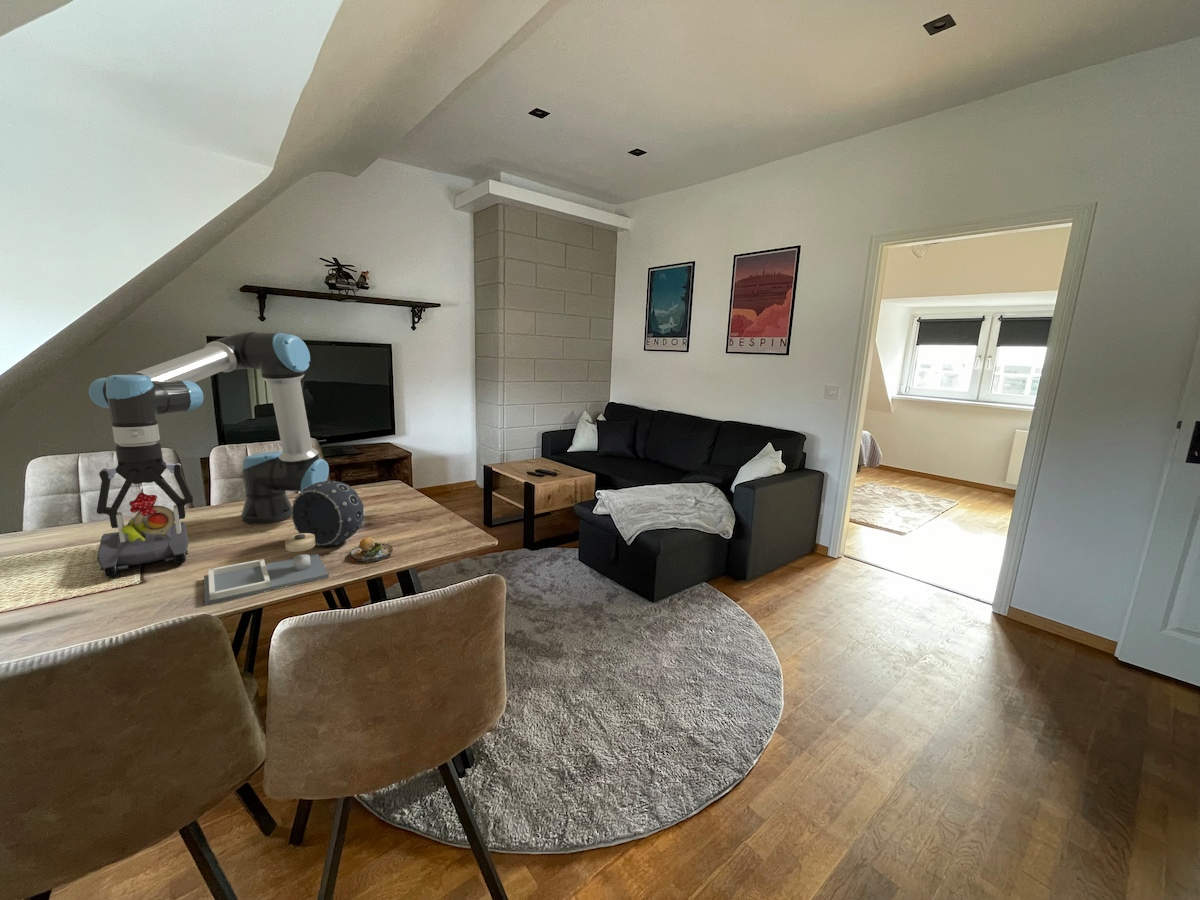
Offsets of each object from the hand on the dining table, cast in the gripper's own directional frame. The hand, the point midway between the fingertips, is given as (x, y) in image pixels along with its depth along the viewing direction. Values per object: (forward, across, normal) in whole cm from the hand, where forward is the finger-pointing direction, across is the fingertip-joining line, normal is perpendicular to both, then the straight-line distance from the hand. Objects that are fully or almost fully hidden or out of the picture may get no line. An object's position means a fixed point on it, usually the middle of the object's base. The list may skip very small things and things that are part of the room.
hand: (152, 535), depth 114 cm
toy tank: (+16, -4, +27) cm, 32 cm away
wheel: (+8, +29, -4) cm, 31 cm away
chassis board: (+15, +21, -4) cm, 27 cm away
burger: (+16, +47, -3) cm, 50 cm away
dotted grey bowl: (+16, +39, +13) cm, 44 cm away
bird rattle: (0, 0, 0) cm, 1 cm away
